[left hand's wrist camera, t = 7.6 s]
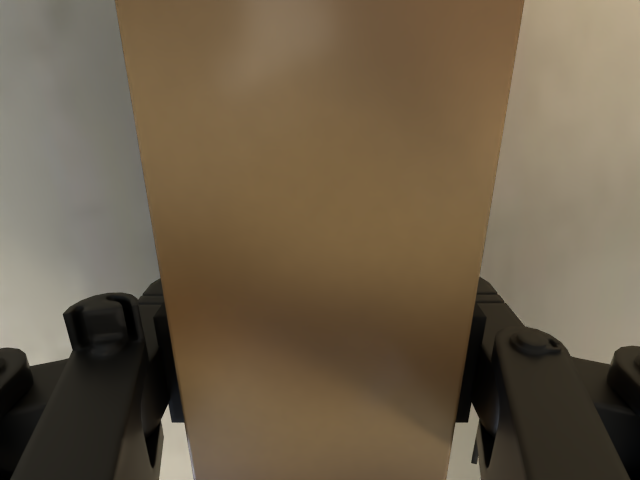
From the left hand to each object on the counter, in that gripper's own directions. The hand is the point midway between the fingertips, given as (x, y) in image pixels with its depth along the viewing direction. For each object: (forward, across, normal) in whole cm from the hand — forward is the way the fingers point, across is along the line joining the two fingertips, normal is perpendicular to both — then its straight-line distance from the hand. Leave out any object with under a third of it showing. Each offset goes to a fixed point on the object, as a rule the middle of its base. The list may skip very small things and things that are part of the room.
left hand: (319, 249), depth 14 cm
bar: (+1, 0, -19) cm, 19 cm away
